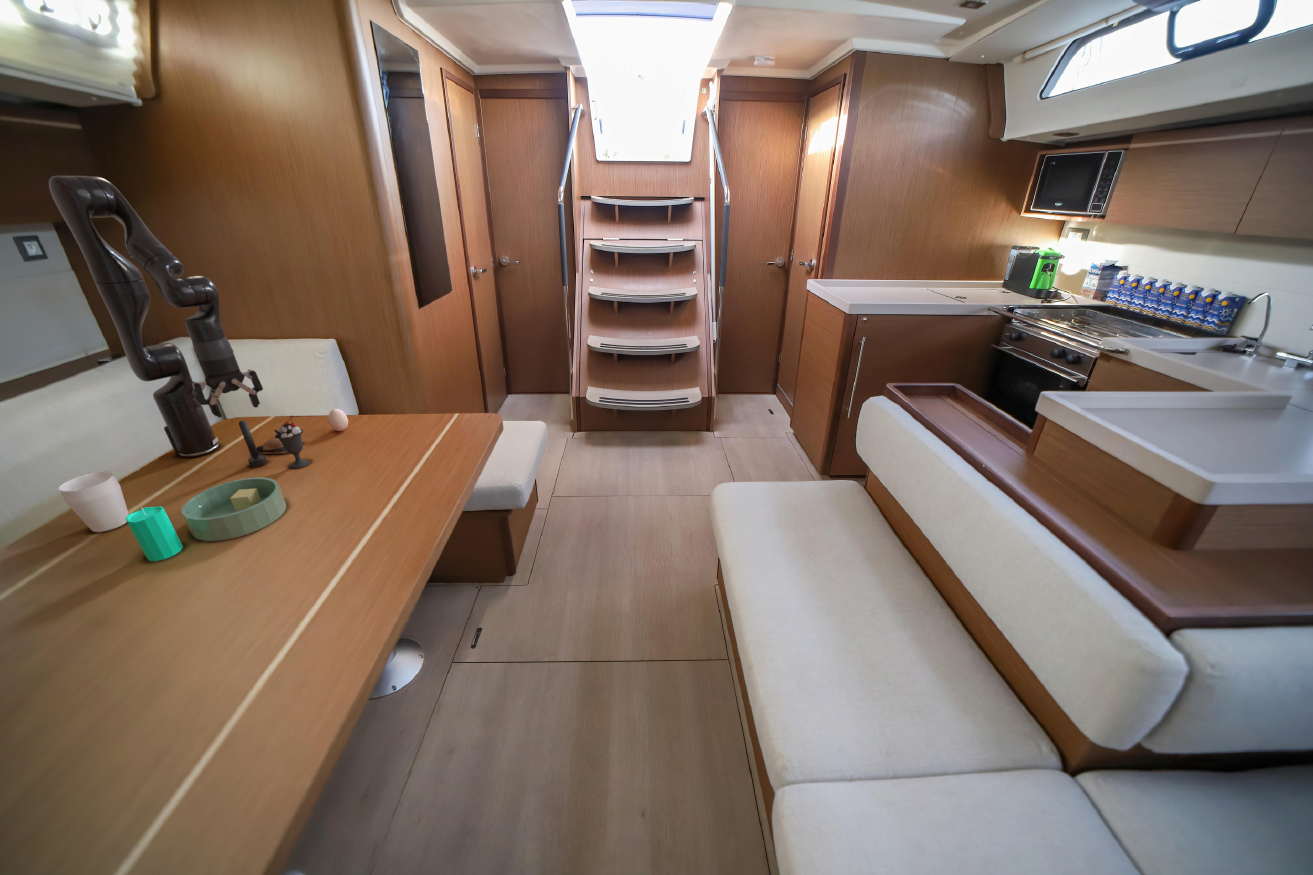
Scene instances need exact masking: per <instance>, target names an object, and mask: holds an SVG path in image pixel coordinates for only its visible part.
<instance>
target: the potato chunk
mask: <svg viewBox="0 0 1313 875" xmlns="http://www.w3.org/2000/svg"><path fill="white" fill-rule="evenodd" d="M230 499H231V502H232V504H233V506H234V509H235V511H241V510H244V509H247V508H250V507H252V506H254V505H256V504H258V503H260V502H261V498H260V496H259V493H258V491H257V488H254V489H241V490H238V491H237V492H236V493H235V494H234V495H233V496H232V497H231V498H230Z"/></svg>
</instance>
